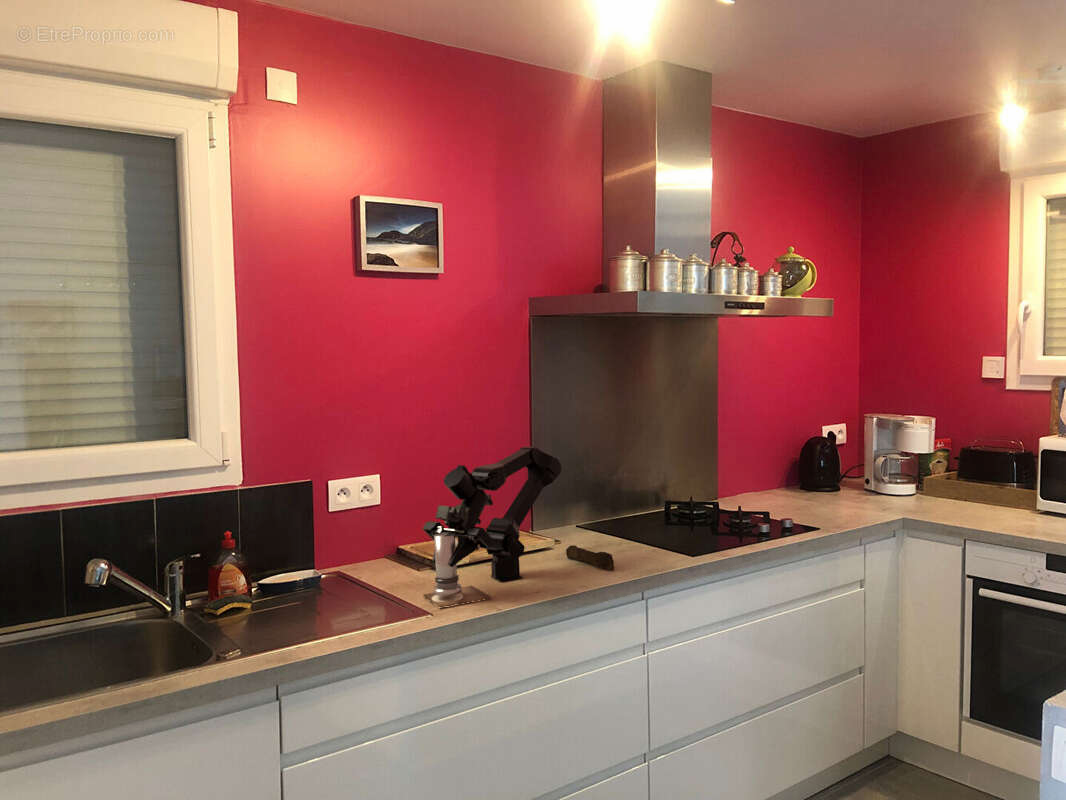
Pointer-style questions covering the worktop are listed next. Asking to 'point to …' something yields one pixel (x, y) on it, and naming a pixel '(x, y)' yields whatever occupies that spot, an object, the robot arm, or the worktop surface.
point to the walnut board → (458, 597)
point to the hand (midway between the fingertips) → (442, 564)
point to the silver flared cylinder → (445, 565)
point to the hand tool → (591, 557)
